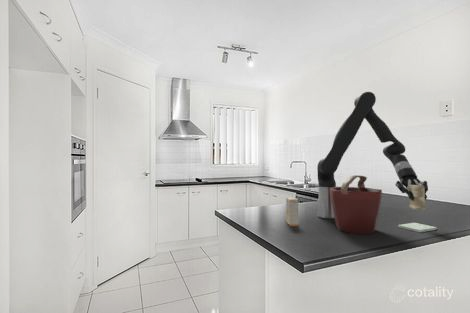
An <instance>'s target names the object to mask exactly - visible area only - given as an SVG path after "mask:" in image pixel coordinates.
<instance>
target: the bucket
mask: <svg viewBox="0 0 470 313" xmlns="http://www.w3.org/2000/svg"><path fill="white" fill-rule="evenodd" d="M357 178H359V180H358V181H357V186H355V187H354V186H350V185H351V184H352V183H353V182H354V181H355V180H356V179H357ZM367 179H368V177H367V176H364V175H351V176H349V177H347V179H345V181H344V182H342V184H341V186H336V188H330V198H331V203H332V208H333V212H334V217H335V218H334V221H335V226H336V228H337V229H338V230H339V231H341V232H346V233H351V234H356V235H366V234H367V235H368V234H369V235H371V234H374V233H375V231H376V229H377V223H378V219H379V213H380V207H381V203H382V197H383V189H378V188H371V187H366V186H365V185H366V184H365V183H366V181H367Z"/></svg>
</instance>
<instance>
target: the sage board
mask: <svg viewBox="0 0 470 313" xmlns="http://www.w3.org/2000/svg"><path fill="white" fill-rule="evenodd" d="M397 227H398V228H401V229H403V230H408V231H413V232H415V233H416V232H417V233H425V232H430V231H431V232H432V231H436V230H437V227H436V226H432V225H427V224H424V223H423V224H422V223H417V222H409V223H402V224H398V225H397Z"/></svg>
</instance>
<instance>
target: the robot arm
mask: <svg viewBox="0 0 470 313" xmlns="http://www.w3.org/2000/svg"><path fill="white" fill-rule="evenodd" d="M376 101H377V98H376V95H375V93H373V92H371V91H364V92H361V94H359V95H357V96H356V97H355V99H354V102H353V103H354V104H353V105H354V108H353V110H352V111H351V113H350V114H349V116H348V117H347V118H346V119H345V120H344V122H343V123H342V124H341V126H340V127H339V129H338V130H337V133H336V134H335V136H334V140H333V142H332V146H331V148H330V151H329V152H328V154H327V155H326V156H325V158H321V159H320V160H319V161H318V163H317V181H318V199H317V205H316V206H317V207H316V208H317V211H316V212H317V217H319V218H322V219H335V217H334V212H333V208H332V203H331V198H330V188H336V187H337V183H336V180H335V173H336V172H337V170H338V167H339V165H340V163H341V161H342V158H343V157H344V155H345V153H346V151H347V150H348V148H349V147H350V145H351V144H352V142H353V140H354V139H355V137H356V135H357V134H358V132H359V130H360V128H361V126H362V124H363V122H364V120H366V122H367V123H368V125H370V127H371V129H372V130H373V132H374V133H375V135H376V137H377V138H378V141H380V143H382V144H383V143H388V142H392V143H390V144H389V145H386V146H385V147H383V150H382V153H383V155H384V156H385V157H386V158H387V159H388V160H389V161H390V162H391V164H392V166H393V168H394V170H395V174H396V176H397V177H398V179H399V180H397V181H396V183H395V184H394V185H395V186H396V187H397V188H398V190H399V191H400V192H401V193H402V194H406V195H407V196H408V199H409V198H410V199H411V200H414V199H415V197H414V195H413V193H412V192H411V189H410V186H409V185H423V186H424V189H425V201H426V200H427V198H428V196H427V192H428V191H429V187H428V186H429V185H428V181H427V180H423V181H421V180H420V179H419V178H418V175H417V174H416V171H415V170H414V168H413V167H412V164H410V162H409V160H408V158H407V157H406V156H405V154H404V153H405V152H406V146H405V145H404V144H403V143H402V142H401V141H400V140H398V139H397V137H395V135H394V134H393V133H392V131H391V129H390V128H389V125H387V123H386V122H385V121H384V120H382V119H381V117H379V116H378V115H377V113H376V112H375V110H374V109H373V107H374V106H375V104H376Z"/></svg>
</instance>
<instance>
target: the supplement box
mask: <svg viewBox="0 0 470 313" xmlns="http://www.w3.org/2000/svg"><path fill="white" fill-rule="evenodd" d="M285 203H286V204H285V207H286V209H285V212H286V214H285V215H286V216H285V217H286V218H285V219H286V221H285V222H286V224H287V225H288V224H289V225H292V226H291V227H298V226H299V199H298V198H296V197H293V196H292V197H290V196H289V197H286V198H285ZM289 225H288V226H289Z"/></svg>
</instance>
